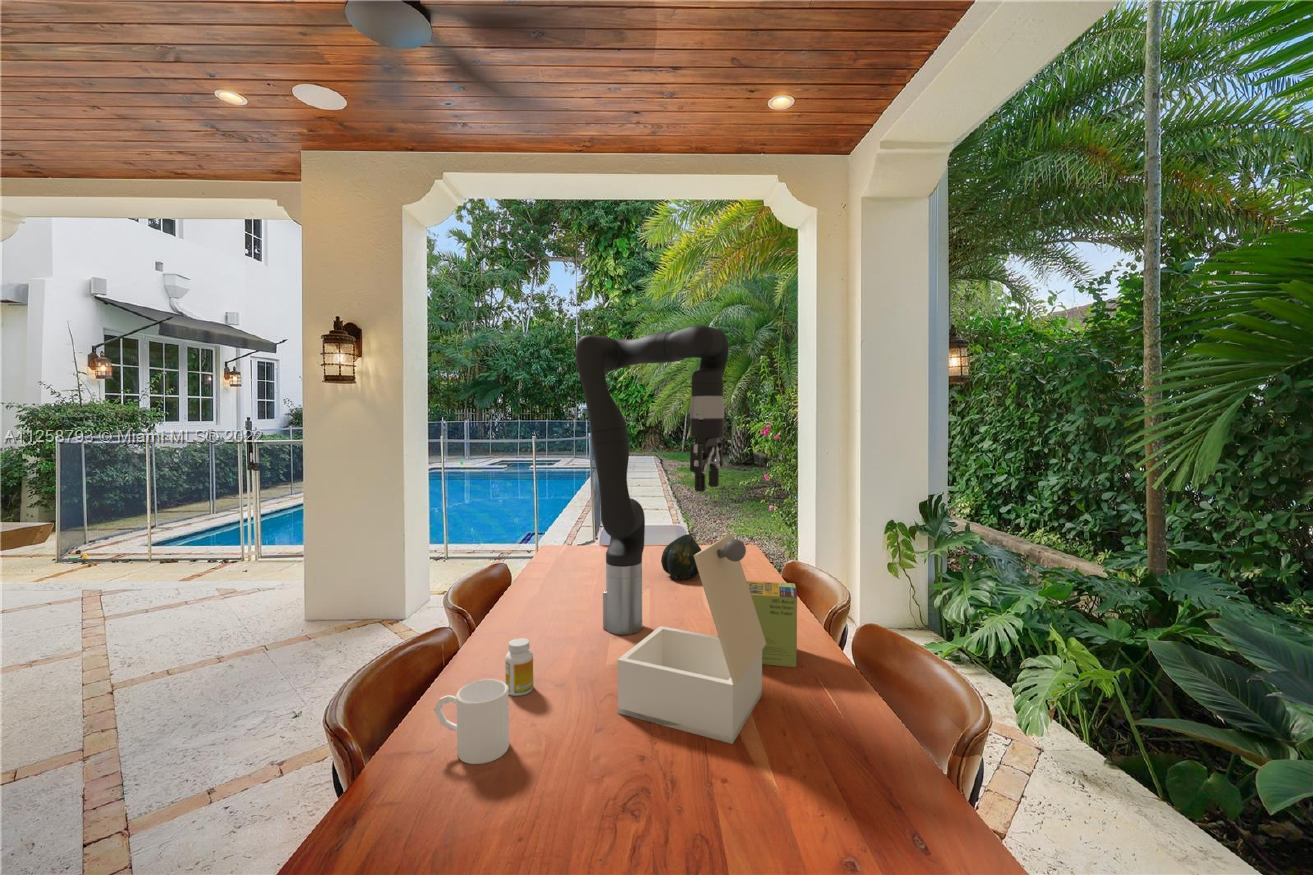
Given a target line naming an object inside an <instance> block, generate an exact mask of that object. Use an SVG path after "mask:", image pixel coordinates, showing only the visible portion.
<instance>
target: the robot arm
mask: <svg viewBox="0 0 1313 875" xmlns="http://www.w3.org/2000/svg"><path fill="white" fill-rule="evenodd" d="M729 349H730V348H729V340H728V338H727V335H726V334H725V332H724V331H722V330H721V329H718V328H715V327H711V326H707V325H704V324H703V325H701V324H698V325H692V326H688V327H685V328H684V327H683V328H682V329H678V330H671V331H664V332H657V333H651V334H648V335H644V336H642V337H638V338H634V339H620V338H611V337H610V336H609V337H608V336H604V335H603V336H602V335H590V334H588V335H587V334H585V335H583V336H581V337H580V338H579V339H578V341H577V343H576V346H575V352H574V353H575V354H574V356H575V364H576V366H577V372H578V375H579V379H580V383H581V387H582V390H583V395H584V399H585V400H584V401H585V405H586V410H587V417H588V422H589V423H588V424H589V430H590V438H591V439H590V440H591V444H592V450H593V451H592V452H593V455H594V462H595V468H596V474H597V478H598V479H597V480H598V486H599V500H600V518H601V525H602V527H603V529H604V531H605V532H606V534H607V535H609V536H610V539H609V540H610V541H609V544H608V547H607V549H606V552H605V590H604V591H602V592H603V593H602V629H603V630H606V631H607V632H609V633H611V634H615V635H621V636H622V635H631V634H636V633H639V632H641V631H642V629H643V553H644V549H645V537H646V536H645V534H646V533H645V532H646V530H645V528H646V527H645V526H646V525H645V524H646V523H645V522H646V521H645V520H646V516H645V512H644V509H643V507H642V504H641V503H639V501H638V500H636V499H634V498H631V497H630V493H629V492H630V491H629V487H628V468H629V467H628V466H629V457H630V442H629V435H628V429H627V424H626V420H625V417H624V414H623V413H622V411H621V410H620V408H619V406H618V405H617V403H616V402H615V400H614V398H613V396H612V395H611V392H610V390H609V388H608V384H607V380H606V373H609V372H613V371H616V370H619V369H622V368H627V367H629V366H633V365H634V366H635V365H640V364H642V365H643V364H663V363H673V362H674V363H675V362H680V361H683V360H685V359H691V358H692V359H696V358H697V359H700V363H699V369H697V370H695V371H694V372H693V373H692V376H691V397H690V398H691V399H690V408H689V409H690V410H689V411H690V412H689V414H690V419H689V420H690V421H689V422H690V424H689V425H690V426H689V427H690V428H689V429H690V430H689V431H690V432H689V433H690V434H689V436H690V437H691V438H692V439H697V441H696V443H692V444H690V453H689V457H690V458H689V470H690V473H691V472H693V473H692V474H694V490H695V492H702V493H703V492H705V491H706V471H707V468H708V486H709V487H711V488H717V487H719V484H720V480H719V479H720V470H721V468H723V465H724V462H723V461H724V460H723V459H724V458H723V454H724V452H723V450H724V448H723V441H718V439H723V438H724V436H725V405H724V404H725V403H724V382H723V381H724V379H723V378H724V374H725V370H726V365H727V363H728V362H727V361H728V357H729Z"/></svg>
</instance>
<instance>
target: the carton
mask: <svg viewBox="0 0 1313 875" xmlns="http://www.w3.org/2000/svg"><path fill="white" fill-rule="evenodd" d="M616 667H617V669H616V670H617V672H616V673H617V674H616V675H617V714H620V715H624V716H627V717H630V718H634V719H638V720H643V721H646V722H649V723H654V724H657V725H660V726H663V727H667V728H670V729H674V730H675V729H676V730H678V731H682V732H686V733H690V734H694V735H698V736H701V737H705V738H708V739H712V740H716V741H719V742H723V743H726V744H730V745H733V744H734V743H735V741H736V739H737V737H738V735H739V734H740V732H741V731H742V729H743V728H744V726H745V724H746V722H747V721H748V719H749V718H750V715H752V713H753V711H754V709H755V707H756V706H757V704H758V703H759V701H760V699H761V697H762V696H763V664H762V651H761V652H760V654H759V655H758V656H757V658H756V659H755V661H754V662H753V663H752V665H751V666H750V668H749V669H748V670H747V672H746V673H745V675H744V676H743V678H742V679H741V680H740V682H739V683H738V684H737V685H733V683H732V679H731V676H730V673H729V670H728V666H727V663H726V660H725V657H724V653H723V650H722V647H721V644H720V640H719V637H718V635H712V634H707V633H701V632H696V631H695V632H694V631H689V630H683V629H680V628H679V629H678V628H673V627H667V626H661V625H660V626H658V627H657V628H656V629H654V630H653V631H652V632H650V634H648V635H647V636H646V637H644V638H642V640H640V641H639V642H638V643H637V644H636V645H634V646H633V647H631V648H630V649H628V650H627V652H624V653H623V655H621V656H620V657H618V658H617V666H616Z"/></svg>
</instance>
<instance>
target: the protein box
mask: <svg viewBox="0 0 1313 875" xmlns="http://www.w3.org/2000/svg"><path fill="white" fill-rule="evenodd" d="M746 581H747V584H748V587H749V590H750V594H751V597H752V600H753V603H754V606H755V609H756V613H757V616H758V619H759V622H760V625H761V628H762V632H763V635H764V638H765V641H766V645H765V647H764V648H763V649H762V665H765V666H766V665H767V666H775V667H776V666H777V667H787V668H796V667H797V662H798V659H797V658H798V657H797V654H798V653H797V652H798V650H797V648H798V593H797V587H796V584H795V583H791V582H773V581H772V582H770V581H755V580H754V581H751V580H746Z"/></svg>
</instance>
